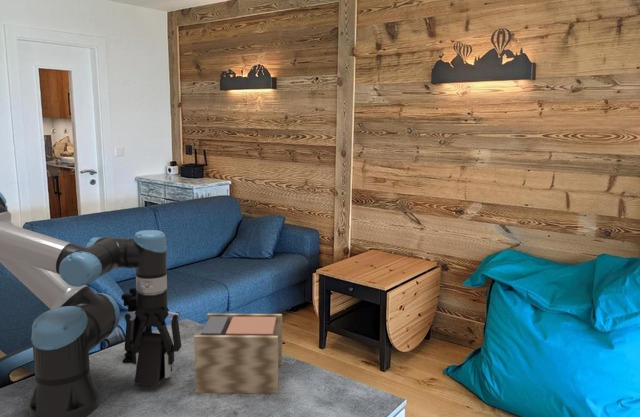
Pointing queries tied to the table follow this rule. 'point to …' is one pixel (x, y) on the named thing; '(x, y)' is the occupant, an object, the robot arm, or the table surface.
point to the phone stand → (151, 360)
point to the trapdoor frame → (238, 360)
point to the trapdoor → (240, 326)
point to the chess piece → (132, 306)
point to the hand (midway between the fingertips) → (153, 375)
